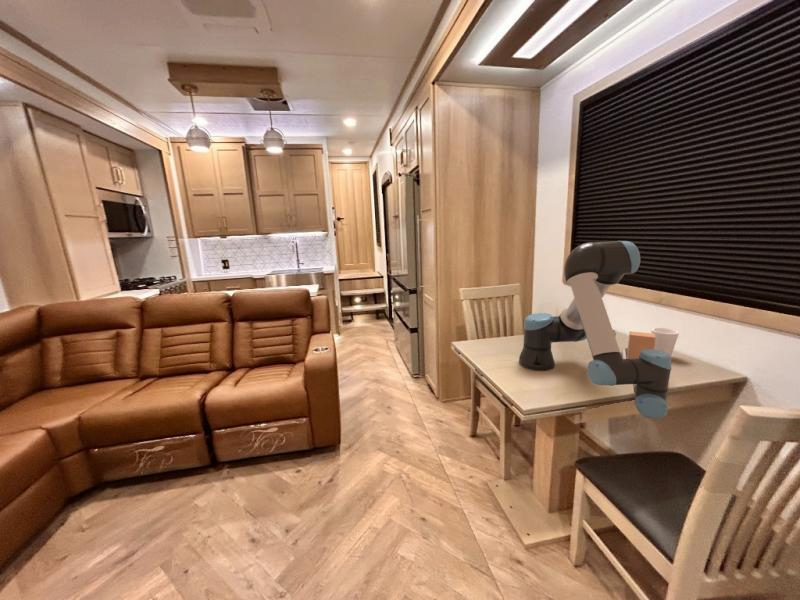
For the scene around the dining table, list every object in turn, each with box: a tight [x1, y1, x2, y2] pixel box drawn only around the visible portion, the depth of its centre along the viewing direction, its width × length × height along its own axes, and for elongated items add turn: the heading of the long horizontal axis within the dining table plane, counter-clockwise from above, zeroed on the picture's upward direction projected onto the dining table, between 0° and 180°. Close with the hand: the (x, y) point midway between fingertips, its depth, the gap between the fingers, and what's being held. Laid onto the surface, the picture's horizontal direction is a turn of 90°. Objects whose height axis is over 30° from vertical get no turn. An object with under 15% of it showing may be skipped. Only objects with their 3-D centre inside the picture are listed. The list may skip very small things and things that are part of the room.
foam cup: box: [650, 327, 680, 357], centre depth 145 cm, size 10×9×13 cm
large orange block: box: [627, 330, 656, 359], centre depth 129 cm, size 6×8×16 cm
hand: (641, 360), depth 124 cm, fingers closed
